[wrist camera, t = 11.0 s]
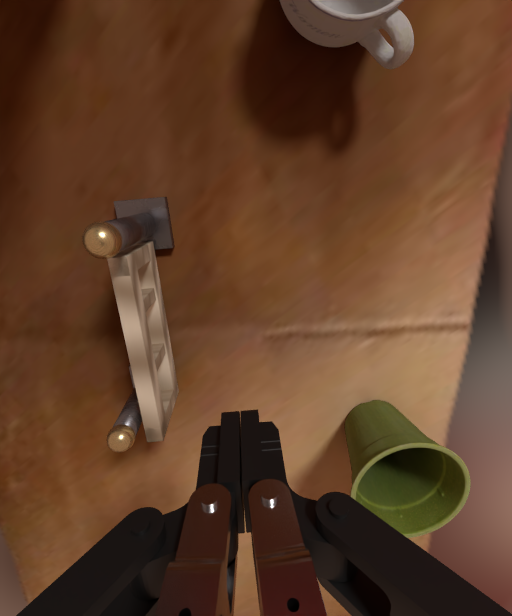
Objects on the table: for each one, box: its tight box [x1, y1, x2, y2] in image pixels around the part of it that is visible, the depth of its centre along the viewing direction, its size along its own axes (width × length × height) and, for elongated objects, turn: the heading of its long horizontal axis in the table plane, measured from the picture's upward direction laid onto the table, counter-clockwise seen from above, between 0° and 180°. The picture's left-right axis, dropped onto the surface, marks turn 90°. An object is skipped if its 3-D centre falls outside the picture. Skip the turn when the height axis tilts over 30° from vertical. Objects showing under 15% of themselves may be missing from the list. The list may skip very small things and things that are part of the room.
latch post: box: [107, 365, 142, 452], centre depth 36 cm, size 4×4×12 cm
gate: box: [107, 241, 179, 442], centre depth 34 cm, size 17×2×8 cm, turn 4°
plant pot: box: [345, 400, 470, 538], centre depth 40 cm, size 12×12×11 cm
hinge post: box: [82, 197, 174, 259], centre depth 30 cm, size 5×5×13 cm
